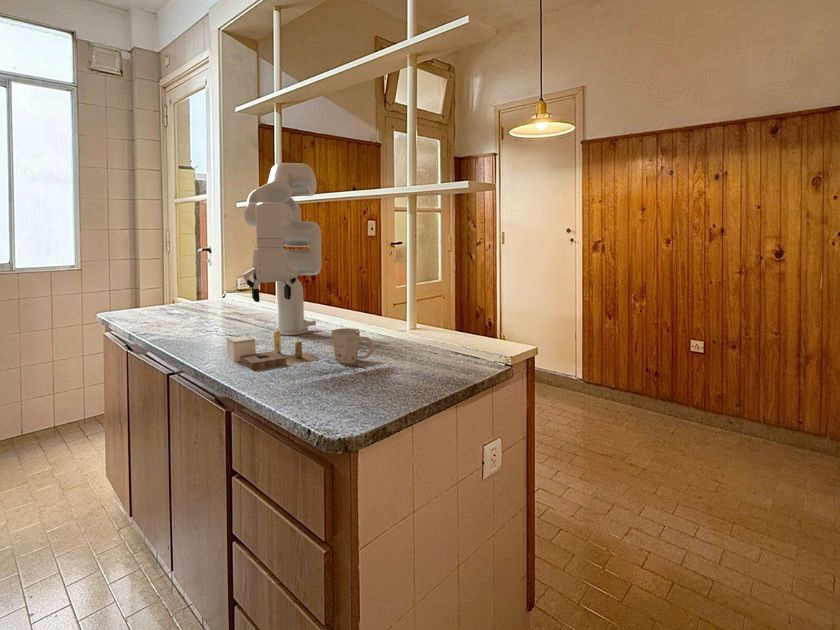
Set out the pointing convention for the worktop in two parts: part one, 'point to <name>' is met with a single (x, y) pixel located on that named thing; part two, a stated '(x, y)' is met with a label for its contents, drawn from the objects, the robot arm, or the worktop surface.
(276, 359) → the socket tile
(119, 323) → the worktop surface
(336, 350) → the mug
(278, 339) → the brass pin
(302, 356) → the tile
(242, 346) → the block
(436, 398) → the worktop surface
